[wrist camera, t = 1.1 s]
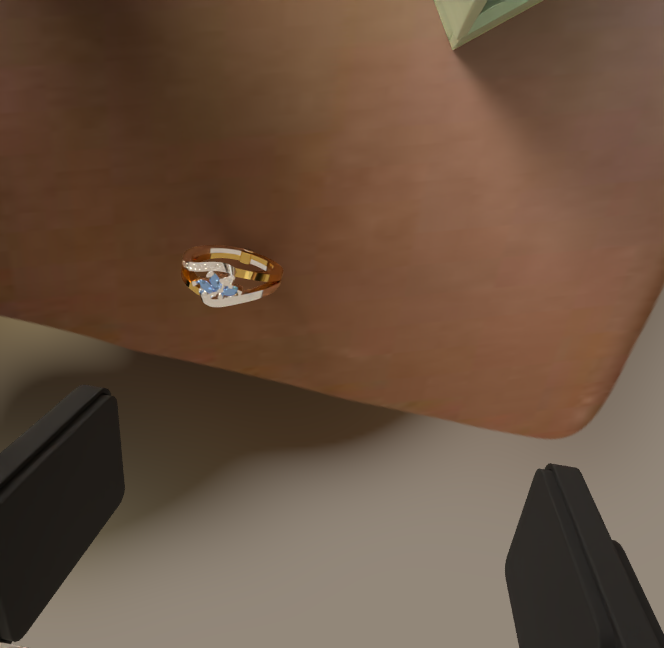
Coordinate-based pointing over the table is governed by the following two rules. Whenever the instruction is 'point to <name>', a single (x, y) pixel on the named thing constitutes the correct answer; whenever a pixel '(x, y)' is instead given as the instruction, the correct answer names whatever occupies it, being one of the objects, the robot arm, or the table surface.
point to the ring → (225, 283)
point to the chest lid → (462, 14)
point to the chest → (485, 18)
